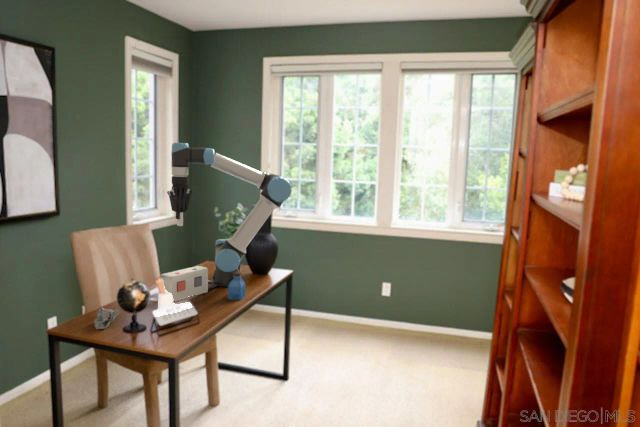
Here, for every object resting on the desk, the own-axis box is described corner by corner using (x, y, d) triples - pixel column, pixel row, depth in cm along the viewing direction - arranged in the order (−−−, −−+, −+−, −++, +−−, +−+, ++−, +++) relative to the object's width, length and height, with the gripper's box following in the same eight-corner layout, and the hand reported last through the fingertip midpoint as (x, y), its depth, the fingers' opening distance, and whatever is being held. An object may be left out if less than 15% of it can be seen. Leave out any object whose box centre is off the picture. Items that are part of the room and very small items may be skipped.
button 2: (177, 287, 216) (177, 279, 216) (185, 289, 213) (185, 281, 212) (170, 289, 213) (170, 280, 212) (178, 291, 210) (178, 283, 209)
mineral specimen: (99, 337, 181) (121, 332, 179) (85, 329, 174) (108, 324, 173) (104, 314, 187) (126, 309, 185) (91, 305, 180) (113, 301, 178)
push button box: (210, 285, 236) (210, 262, 234) (219, 288, 232) (220, 264, 230) (160, 299, 211) (160, 273, 210) (170, 303, 207) (170, 276, 206)
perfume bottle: (240, 300, 216) (241, 275, 214) (228, 298, 217) (228, 274, 215) (245, 296, 222) (245, 272, 220) (233, 294, 223) (233, 270, 221)
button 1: (193, 282, 225) (193, 274, 224) (201, 284, 222) (201, 276, 221) (187, 284, 221) (187, 276, 221) (194, 286, 218) (194, 278, 218)
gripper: (185, 175, 224) (185, 223, 227) (163, 175, 213) (163, 226, 217) (196, 176, 220) (196, 225, 223) (173, 176, 209) (173, 228, 212)
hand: (179, 225), depth 220 cm, fingers closed
